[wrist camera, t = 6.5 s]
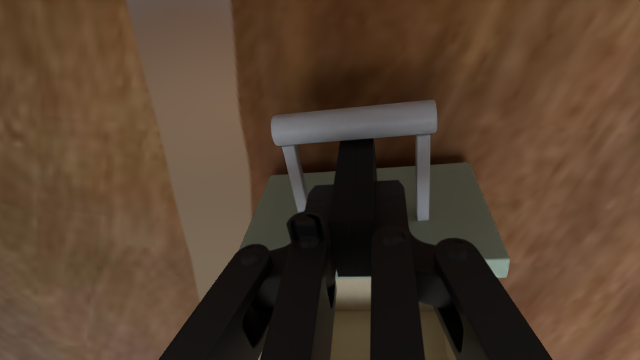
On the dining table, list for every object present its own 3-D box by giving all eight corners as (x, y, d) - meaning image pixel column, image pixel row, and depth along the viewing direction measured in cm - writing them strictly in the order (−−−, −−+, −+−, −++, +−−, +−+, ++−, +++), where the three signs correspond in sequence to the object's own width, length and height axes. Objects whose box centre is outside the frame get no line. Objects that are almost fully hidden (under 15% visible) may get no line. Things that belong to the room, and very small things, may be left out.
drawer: (244, 85, 21) (186, 155, 14) (478, 57, 18) (537, 126, 12) (305, 304, 31) (288, 400, 25) (457, 304, 29) (481, 411, 23)
